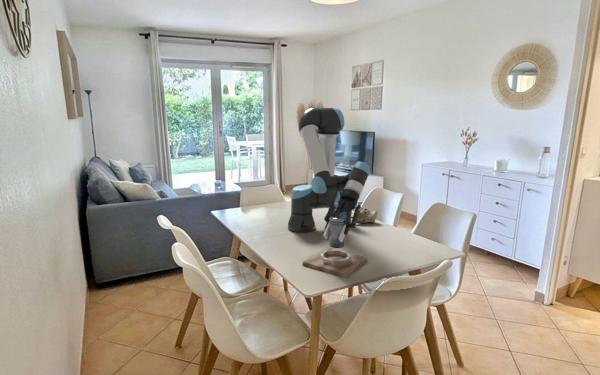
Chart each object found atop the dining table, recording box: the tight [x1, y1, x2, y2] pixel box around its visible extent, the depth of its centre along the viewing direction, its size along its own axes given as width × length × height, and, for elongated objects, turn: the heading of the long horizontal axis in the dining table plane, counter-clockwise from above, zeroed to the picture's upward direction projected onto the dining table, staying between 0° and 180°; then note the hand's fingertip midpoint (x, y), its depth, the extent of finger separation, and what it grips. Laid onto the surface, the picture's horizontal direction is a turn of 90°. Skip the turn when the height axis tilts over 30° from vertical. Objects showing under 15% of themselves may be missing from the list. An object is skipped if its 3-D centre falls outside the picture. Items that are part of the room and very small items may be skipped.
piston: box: [328, 216, 346, 249], centre depth 148 cm, size 6×6×12 cm
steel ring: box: [320, 248, 351, 266], centre depth 150 cm, size 12×12×2 cm
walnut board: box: [302, 246, 368, 278], centre depth 151 cm, size 20×20×2 cm
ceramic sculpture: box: [351, 208, 378, 224], centre depth 207 cm, size 11×9×15 cm
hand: (332, 238), depth 145 cm, fingers closed on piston, 6 cm apart
